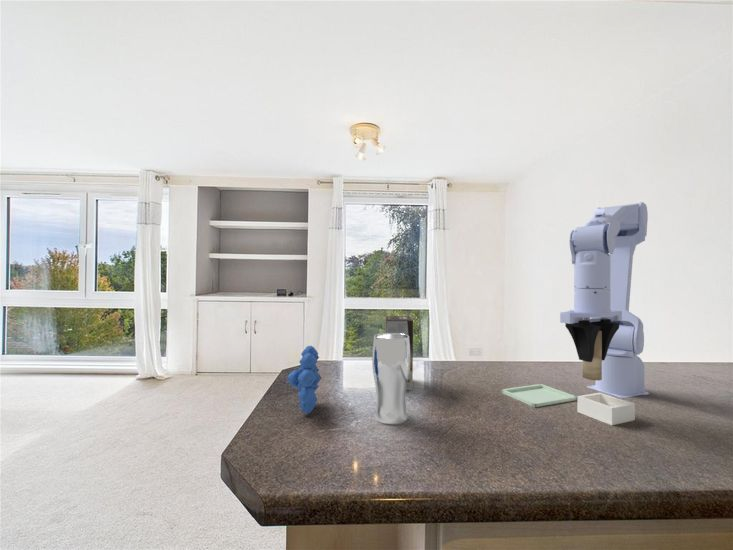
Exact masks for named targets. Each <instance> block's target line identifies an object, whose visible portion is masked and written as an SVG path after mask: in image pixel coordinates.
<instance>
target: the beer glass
mask: <svg viewBox="0 0 733 550" xmlns="http://www.w3.org/2000/svg"><path fill="white" fill-rule="evenodd" d="M371 356H372V357H371V358H372V359H371V360H372V361H371V362H372V364H371V365H372V374H373V380H374V386H375V391H376V393H375V394H376V405H375V410H374V419H375V420H376V421H377V422H378V423H381V424H384V425H388V426H389V425H392V426H393V425H394V426H395V425H396V426H397V425H401V424H404V423H406V421H407V420H408V411H407V403H406V397H407V396H406V394H407V390H406V389H407V383H408V378H409V371H410V343H409V336H408V335H406V334H400V333H385V332H382V333H375V334H373V343H372V355H371Z"/></svg>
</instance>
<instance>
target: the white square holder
mask: <svg viewBox="0 0 733 550" xmlns="http://www.w3.org/2000/svg"><path fill="white" fill-rule="evenodd" d="M576 396H577V400H576V401H577V407H576V408H577V413H579V414H582V415H584V416H587V417H590V418H592V419H595V420H597V421H600V422H602V423H605V424H607V425H609V426H615V425H619V424H621V425H622V424H624V423H630V422H633V421H636V404H635V403H634V402H632V401H631V402H630V401H628V400H624V399H623V398H620V397H616V396H615V397H614V396H613V395H610V394H607V393H604V392H596V393H595V392H593V393H589V394H583V395H576Z"/></svg>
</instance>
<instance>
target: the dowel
mask: <svg viewBox="0 0 733 550" xmlns="http://www.w3.org/2000/svg"><path fill="white" fill-rule="evenodd" d="M582 378H583V379H586V380H591V381H595V380H602V331H599V332H598V334H597V337H596V340H595V346H594V356H593V360H592V362H587V361H583V360H582Z"/></svg>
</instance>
